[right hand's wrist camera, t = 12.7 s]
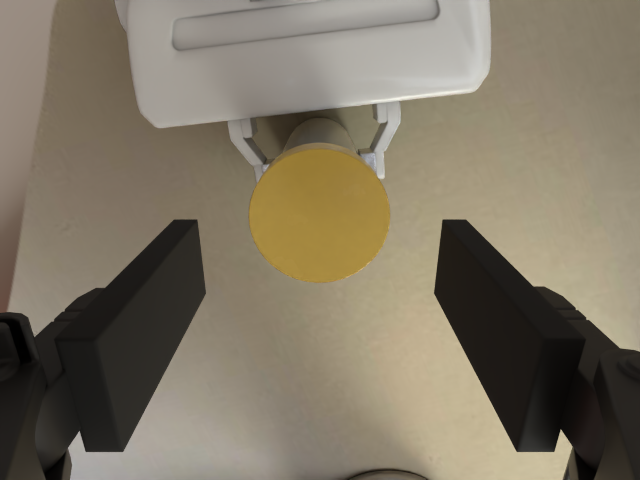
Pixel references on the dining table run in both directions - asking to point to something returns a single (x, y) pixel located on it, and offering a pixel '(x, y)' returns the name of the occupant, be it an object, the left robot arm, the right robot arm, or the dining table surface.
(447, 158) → the dining table surface
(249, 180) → the dining table surface
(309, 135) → the jar
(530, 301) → the right robot arm
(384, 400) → the dining table surface
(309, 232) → the lid
